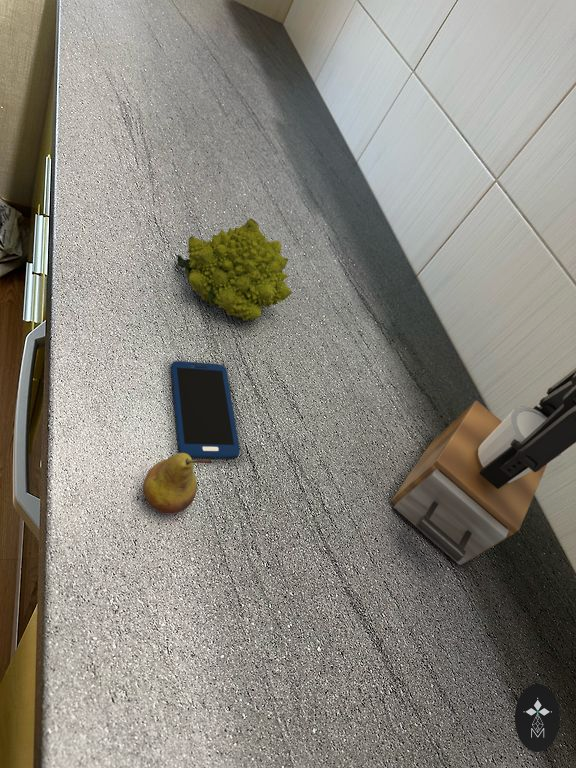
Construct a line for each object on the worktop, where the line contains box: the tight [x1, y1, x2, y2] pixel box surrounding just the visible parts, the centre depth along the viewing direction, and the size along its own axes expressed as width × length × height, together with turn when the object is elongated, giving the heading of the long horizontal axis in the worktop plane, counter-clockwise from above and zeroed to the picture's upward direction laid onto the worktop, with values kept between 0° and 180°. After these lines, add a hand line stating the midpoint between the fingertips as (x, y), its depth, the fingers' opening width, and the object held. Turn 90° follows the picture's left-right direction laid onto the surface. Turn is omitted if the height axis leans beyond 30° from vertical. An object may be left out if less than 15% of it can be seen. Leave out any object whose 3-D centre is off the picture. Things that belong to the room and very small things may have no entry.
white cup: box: [478, 405, 562, 483], centre depth 66 cm, size 7×7×7 cm
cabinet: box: [390, 400, 548, 565], centre depth 74 cm, size 14×12×11 cm
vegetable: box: [176, 217, 293, 322], centre depth 82 cm, size 15×16×15 cm
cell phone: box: [170, 360, 241, 459], centre depth 71 cm, size 7×14×1 cm, turn 11°
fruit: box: [142, 452, 213, 515], centre depth 58 cm, size 6×6×12 cm
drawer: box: [393, 469, 509, 566], centre depth 71 cm, size 17×11×9 cm, turn 143°
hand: (499, 460), depth 68 cm, fingers closed on white cup, 7 cm apart
